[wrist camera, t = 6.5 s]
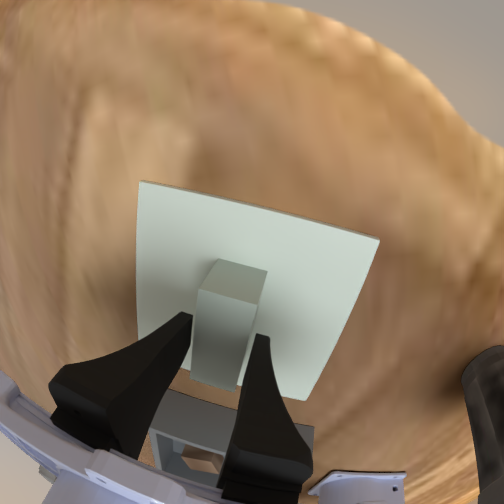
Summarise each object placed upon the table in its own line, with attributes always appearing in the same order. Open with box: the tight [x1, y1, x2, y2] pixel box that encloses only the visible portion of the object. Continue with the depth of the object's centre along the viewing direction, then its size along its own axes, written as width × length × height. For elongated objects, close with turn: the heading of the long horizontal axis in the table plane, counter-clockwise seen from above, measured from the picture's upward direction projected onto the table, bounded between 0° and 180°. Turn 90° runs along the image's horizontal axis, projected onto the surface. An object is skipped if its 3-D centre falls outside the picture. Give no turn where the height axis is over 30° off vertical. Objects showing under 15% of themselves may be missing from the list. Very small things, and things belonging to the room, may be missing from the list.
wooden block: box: [181, 444, 224, 474], centre depth 23 cm, size 3×3×2 cm
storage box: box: [148, 389, 314, 487], centre depth 21 cm, size 12×12×4 cm
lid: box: [136, 180, 380, 401], centre depth 15 cm, size 12×12×4 cm
